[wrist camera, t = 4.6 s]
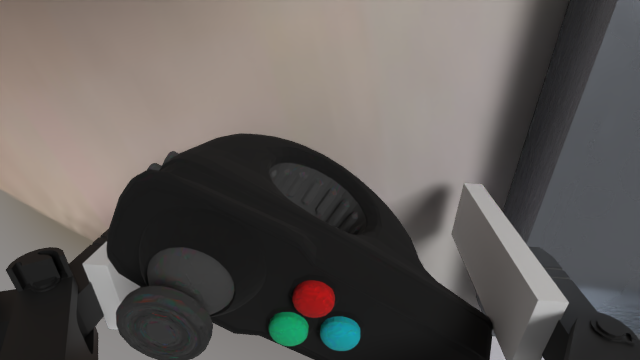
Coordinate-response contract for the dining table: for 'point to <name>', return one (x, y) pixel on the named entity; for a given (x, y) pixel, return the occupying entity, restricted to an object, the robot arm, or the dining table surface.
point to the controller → (277, 260)
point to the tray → (588, 158)
